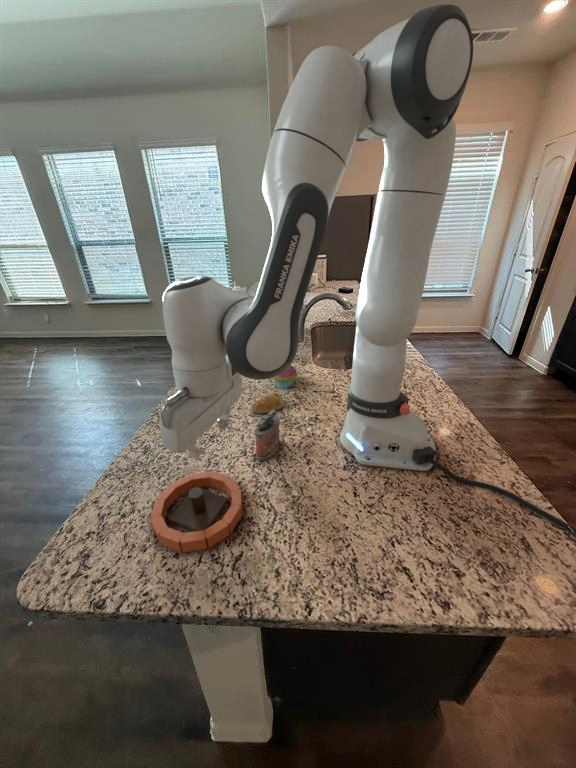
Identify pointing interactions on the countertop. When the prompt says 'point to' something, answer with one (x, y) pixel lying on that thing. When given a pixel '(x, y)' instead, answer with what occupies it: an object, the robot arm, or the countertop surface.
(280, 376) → the cupcake
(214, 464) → the countertop surface
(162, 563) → the countertop surface
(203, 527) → the peg stand
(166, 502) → the ring
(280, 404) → the pastry
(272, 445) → the lighter
